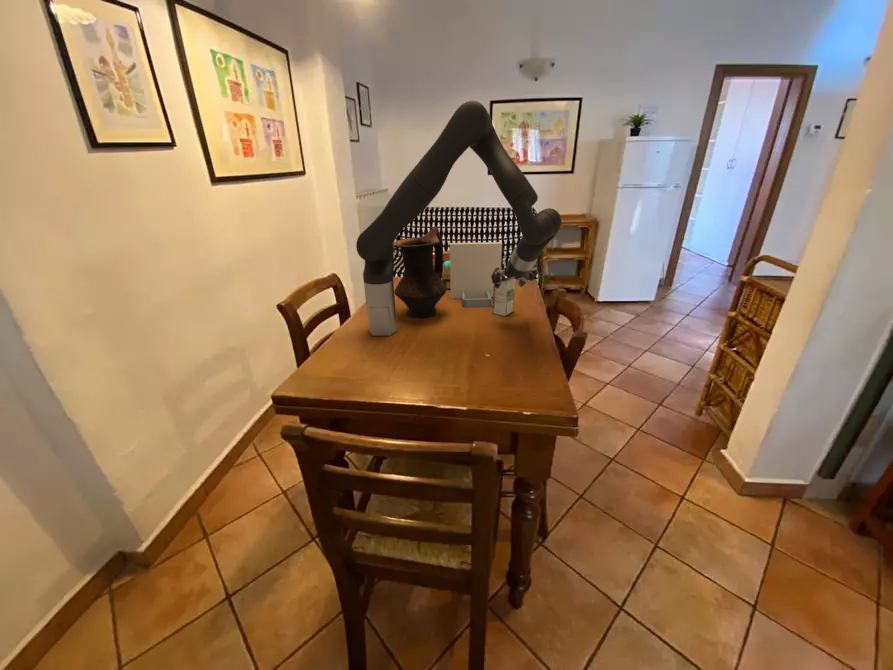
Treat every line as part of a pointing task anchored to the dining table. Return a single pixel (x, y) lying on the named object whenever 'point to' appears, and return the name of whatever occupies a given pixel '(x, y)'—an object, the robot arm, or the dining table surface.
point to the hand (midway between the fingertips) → (508, 285)
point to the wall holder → (474, 271)
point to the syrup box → (504, 298)
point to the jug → (421, 274)
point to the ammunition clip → (447, 280)
